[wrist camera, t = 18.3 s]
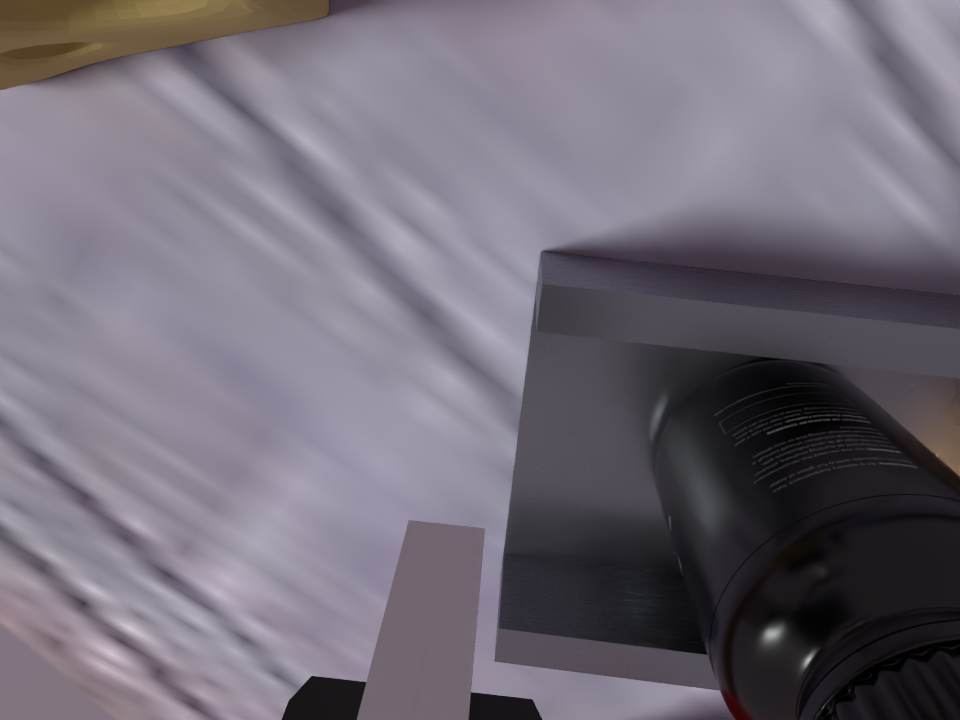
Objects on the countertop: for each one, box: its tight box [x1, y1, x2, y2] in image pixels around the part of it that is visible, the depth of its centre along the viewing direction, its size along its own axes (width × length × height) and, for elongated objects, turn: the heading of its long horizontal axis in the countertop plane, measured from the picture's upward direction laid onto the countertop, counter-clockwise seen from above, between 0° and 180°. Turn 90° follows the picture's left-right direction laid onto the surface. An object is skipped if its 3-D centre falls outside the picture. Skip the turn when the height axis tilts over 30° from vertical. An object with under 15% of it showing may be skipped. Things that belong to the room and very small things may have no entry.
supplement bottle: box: [655, 360, 960, 720], centre depth 16 cm, size 7×7×12 cm
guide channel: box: [495, 251, 960, 690], centre depth 19 cm, size 17×11×6 cm, turn 85°
